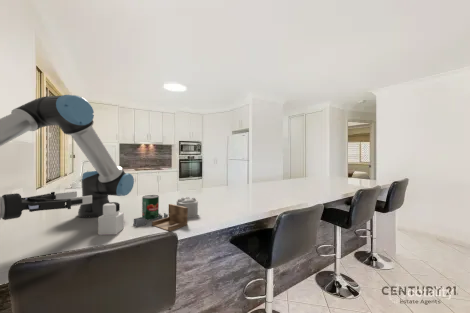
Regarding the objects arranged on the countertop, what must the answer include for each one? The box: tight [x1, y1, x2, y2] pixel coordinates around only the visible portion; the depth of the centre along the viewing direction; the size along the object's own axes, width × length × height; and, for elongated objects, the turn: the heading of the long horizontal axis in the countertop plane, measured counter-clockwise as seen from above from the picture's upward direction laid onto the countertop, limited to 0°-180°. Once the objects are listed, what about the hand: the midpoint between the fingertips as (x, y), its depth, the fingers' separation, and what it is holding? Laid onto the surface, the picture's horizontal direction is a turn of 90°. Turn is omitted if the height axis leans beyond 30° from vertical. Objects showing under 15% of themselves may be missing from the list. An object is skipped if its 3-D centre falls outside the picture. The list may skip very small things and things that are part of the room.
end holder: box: [151, 203, 189, 232], centre depth 98 cm, size 12×10×8 cm
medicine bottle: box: [97, 201, 125, 236], centre depth 90 cm, size 7×7×12 cm
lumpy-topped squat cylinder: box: [176, 196, 199, 218], centre depth 117 cm, size 10×13×9 cm
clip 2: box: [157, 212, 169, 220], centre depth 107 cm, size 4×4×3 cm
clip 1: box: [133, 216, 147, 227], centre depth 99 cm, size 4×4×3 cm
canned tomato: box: [141, 194, 160, 221], centre depth 109 cm, size 8×8×11 cm
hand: (83, 197), depth 81 cm, fingers open, 13 cm apart
